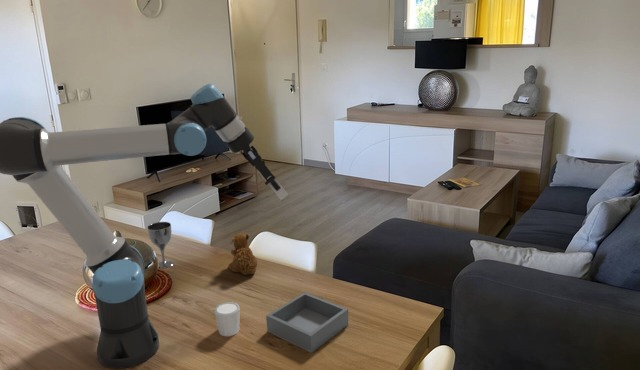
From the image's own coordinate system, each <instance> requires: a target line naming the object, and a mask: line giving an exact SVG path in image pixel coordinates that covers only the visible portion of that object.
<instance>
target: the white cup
mask: <svg viewBox="0 0 640 370" xmlns="http://www.w3.org/2000/svg"><path fill="white" fill-rule="evenodd" d="M240 308H241V307H240V305H239V304H238V303H237V302H232V301H231V302H229V301H228V302H222V303H219V304H218V305H217V306H215V308H214V311H213V312H214V315H215V320H216V325H217V330H218V334H219V335H220V336H222V337H233V336H234V335H237V334H238V332H240V314H241V313H240V311H241V309H240Z"/></svg>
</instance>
